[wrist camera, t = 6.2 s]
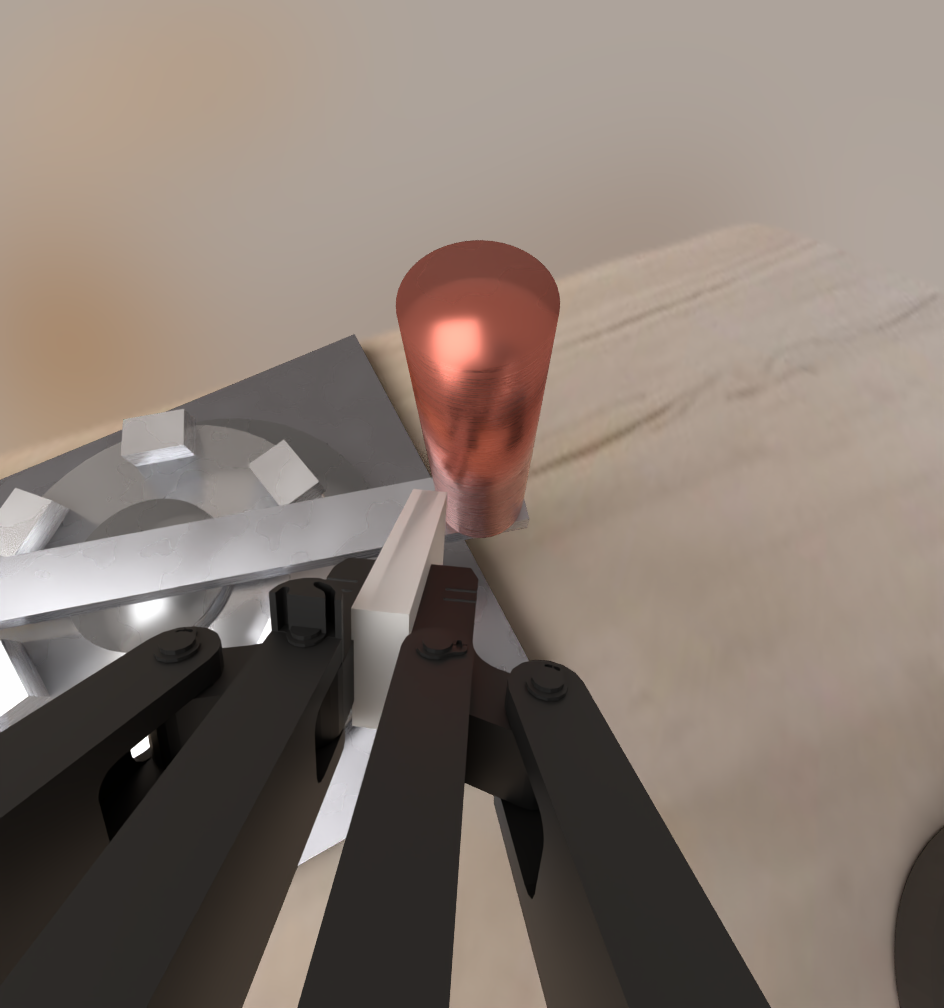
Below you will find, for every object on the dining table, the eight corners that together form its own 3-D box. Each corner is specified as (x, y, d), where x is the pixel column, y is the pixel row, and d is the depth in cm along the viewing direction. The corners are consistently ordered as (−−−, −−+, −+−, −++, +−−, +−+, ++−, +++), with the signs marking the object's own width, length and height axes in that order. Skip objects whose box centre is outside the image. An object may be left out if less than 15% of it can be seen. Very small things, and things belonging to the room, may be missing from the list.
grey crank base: (359, 350, 32) (345, 307, 29) (554, 715, 24) (566, 716, 21) (-36, 515, 29) (-107, 488, 25) (36, 1012, 20) (-55, 1073, 17)
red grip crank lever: (-6, 807, 20) (-1053, 1019, 6) (39, 478, 25) (-477, 211, 11) (554, 689, 21) (681, 653, 7) (483, 399, 26) (484, 72, 13)
